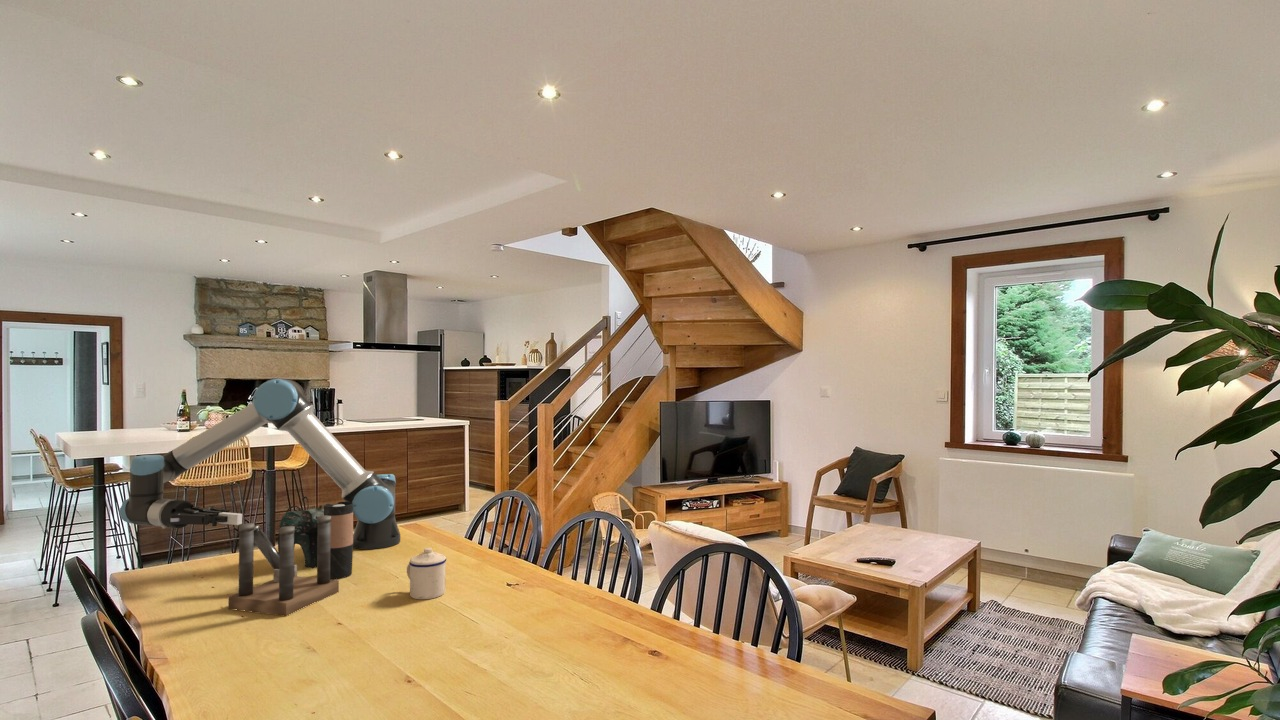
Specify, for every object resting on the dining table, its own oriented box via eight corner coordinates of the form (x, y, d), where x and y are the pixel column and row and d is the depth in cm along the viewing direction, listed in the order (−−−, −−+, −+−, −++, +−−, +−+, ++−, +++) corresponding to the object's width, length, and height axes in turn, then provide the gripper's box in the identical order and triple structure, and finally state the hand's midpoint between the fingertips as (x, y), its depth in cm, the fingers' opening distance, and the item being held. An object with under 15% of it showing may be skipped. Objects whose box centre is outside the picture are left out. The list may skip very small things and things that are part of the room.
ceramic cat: (329, 565, 187) (329, 497, 187) (307, 571, 182) (308, 501, 182) (291, 555, 198) (292, 491, 198) (270, 560, 192) (271, 494, 193)
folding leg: (293, 566, 167) (261, 523, 170) (283, 569, 164) (250, 526, 167) (286, 574, 167) (254, 531, 170) (276, 578, 164) (243, 534, 167)
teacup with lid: (453, 591, 164) (454, 546, 164) (426, 602, 156) (426, 555, 156) (421, 584, 170) (421, 540, 170) (393, 594, 162) (393, 548, 162)
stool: (338, 591, 164) (339, 515, 165) (286, 616, 148) (287, 530, 148) (285, 586, 169) (286, 511, 169) (228, 609, 152) (229, 526, 153)
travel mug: (344, 580, 174) (345, 506, 174) (317, 579, 174) (317, 506, 174) (357, 571, 181) (358, 501, 182) (331, 571, 181) (332, 501, 182)
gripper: (193, 521, 183) (259, 527, 177) (148, 532, 170) (217, 539, 164) (194, 495, 183) (260, 500, 177) (149, 504, 171) (218, 510, 164)
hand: (239, 519), depth 171 cm, fingers closed
